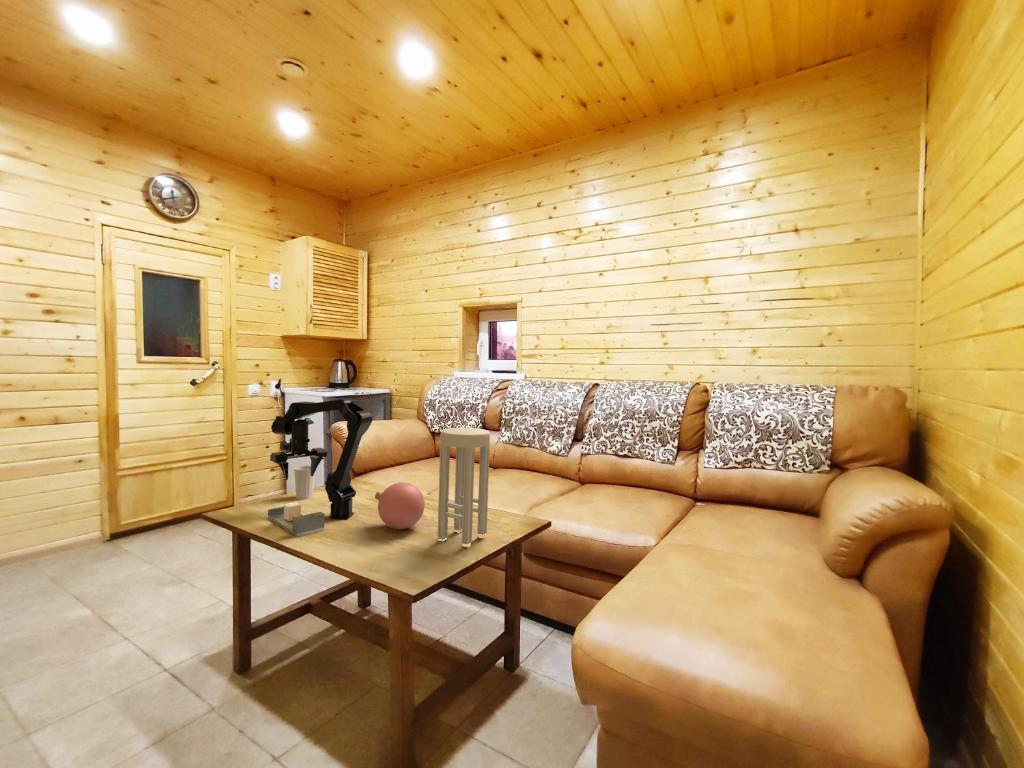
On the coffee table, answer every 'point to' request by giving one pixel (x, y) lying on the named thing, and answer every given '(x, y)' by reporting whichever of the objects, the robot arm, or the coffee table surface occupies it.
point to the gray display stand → (298, 522)
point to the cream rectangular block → (292, 511)
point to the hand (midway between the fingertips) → (299, 478)
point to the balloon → (400, 505)
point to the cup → (304, 482)
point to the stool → (463, 481)
